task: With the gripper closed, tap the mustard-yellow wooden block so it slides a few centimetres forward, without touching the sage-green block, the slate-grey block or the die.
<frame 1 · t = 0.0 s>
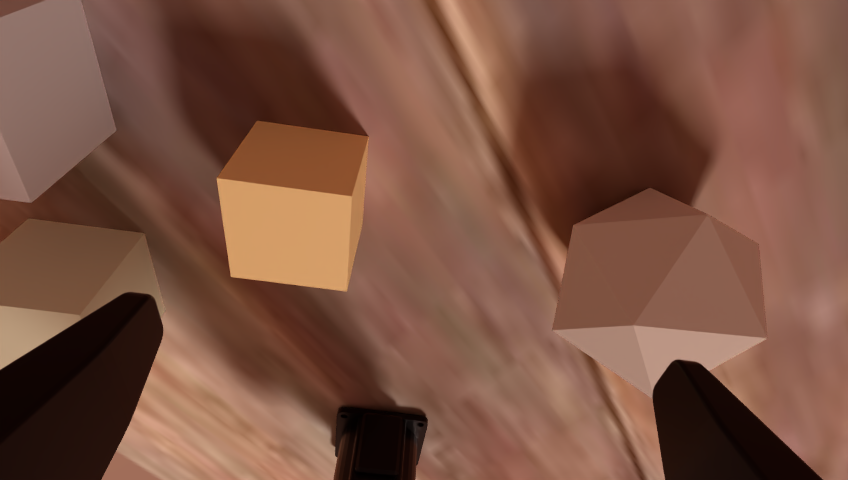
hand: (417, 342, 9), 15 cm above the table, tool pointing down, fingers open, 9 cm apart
sage block: (102, 266, 28), on the table
die: (627, 233, 25), on the table
mustard block: (313, 175, 24), on the table
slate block: (26, 54, 21), on the table
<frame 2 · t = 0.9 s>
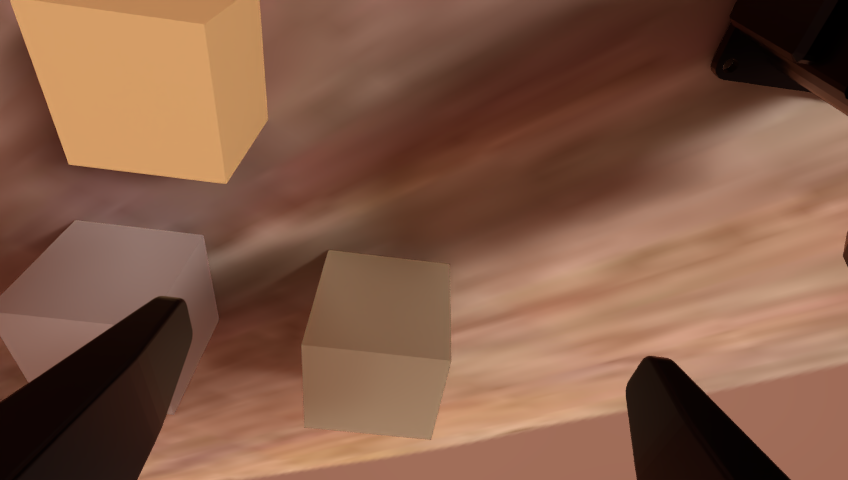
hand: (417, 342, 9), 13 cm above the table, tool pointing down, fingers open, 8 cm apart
sage block: (384, 298, 26), on the table
mustard block: (196, 47, 19), on the table
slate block: (153, 272, 26), on the table
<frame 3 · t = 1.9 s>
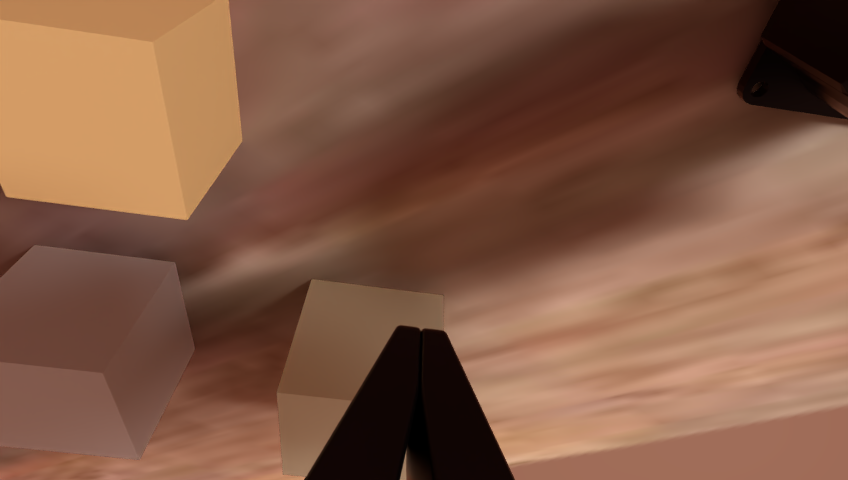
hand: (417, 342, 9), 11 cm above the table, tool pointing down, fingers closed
sage block: (373, 330, 24), on the table
mustard block: (160, 61, 17), on the table
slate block: (122, 300, 24), on the table
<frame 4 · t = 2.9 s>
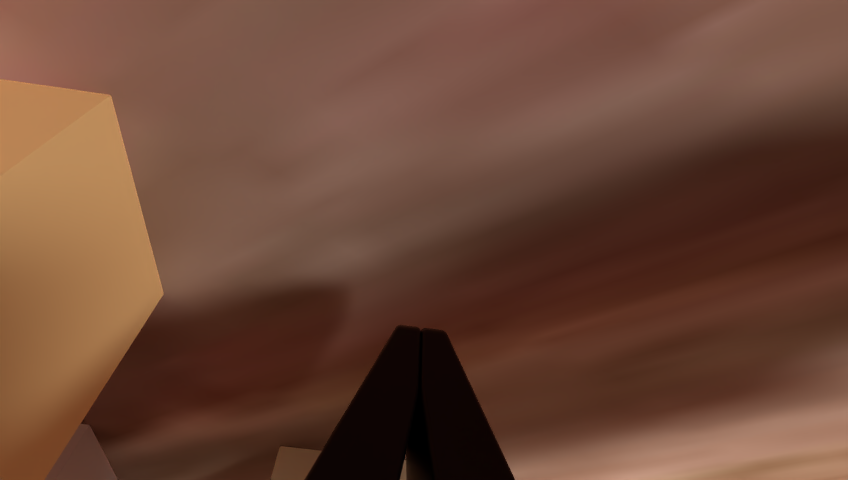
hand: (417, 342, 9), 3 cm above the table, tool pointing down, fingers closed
mustard block: (20, 190, 10), on the table
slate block: (27, 459, 18), on the table
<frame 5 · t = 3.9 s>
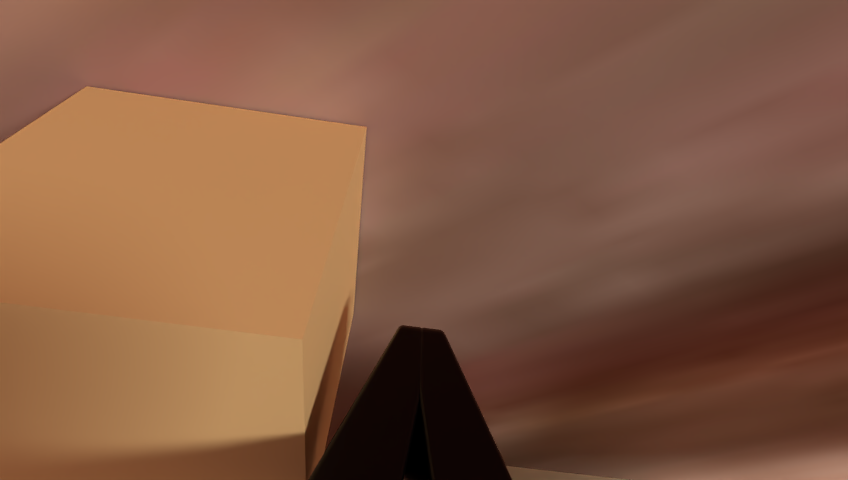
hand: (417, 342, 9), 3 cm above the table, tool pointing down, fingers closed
mustard block: (241, 217, 11), on the table, touching gripper
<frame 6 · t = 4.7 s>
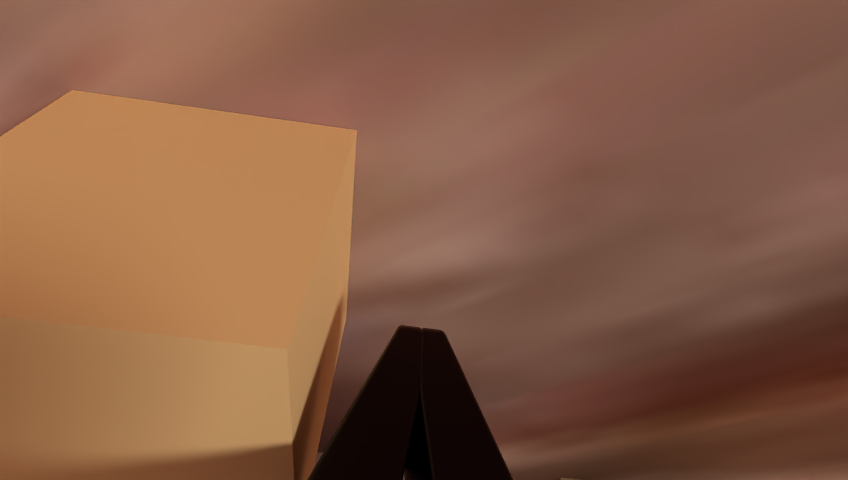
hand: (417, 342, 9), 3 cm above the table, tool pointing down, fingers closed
mustard block: (231, 222, 10), on the table, touching gripper
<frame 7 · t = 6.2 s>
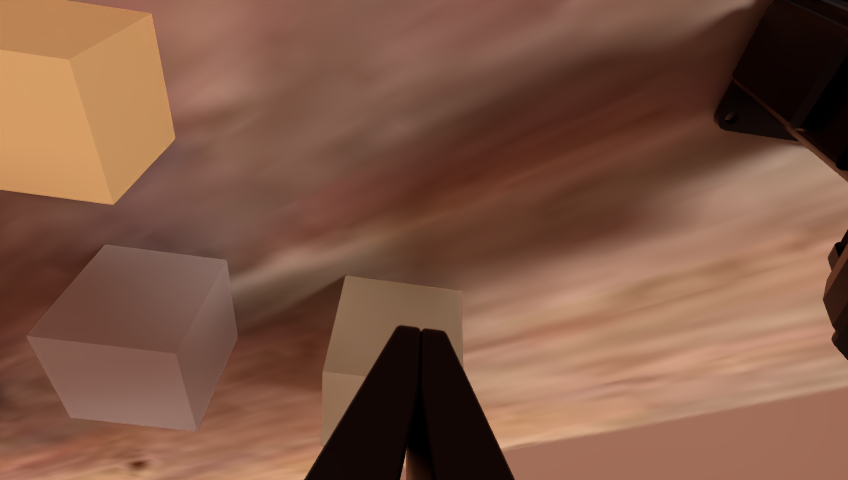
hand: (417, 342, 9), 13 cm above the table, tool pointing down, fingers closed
sage block: (397, 321, 28), on the table
mustard block: (99, 70, 19), on the table
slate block: (177, 293, 27), on the table
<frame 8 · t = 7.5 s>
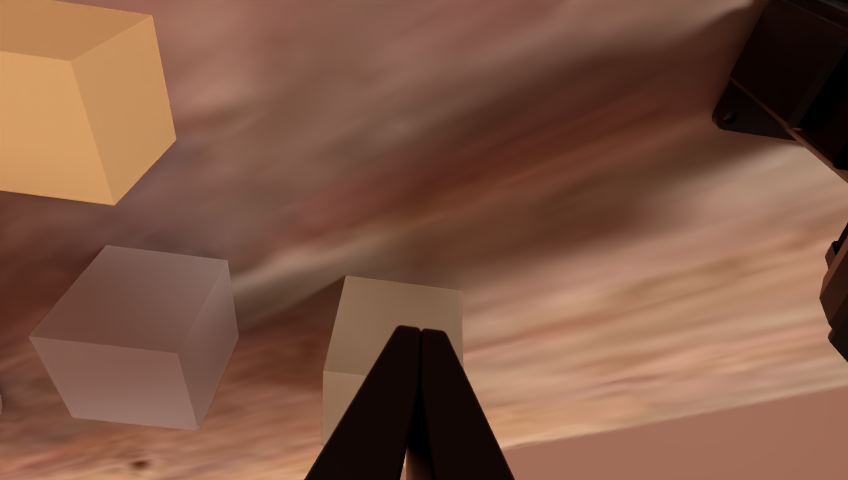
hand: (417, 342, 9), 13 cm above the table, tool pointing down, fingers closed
sage block: (397, 320, 28), on the table
mustard block: (101, 72, 19), on the table
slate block: (178, 293, 27), on the table
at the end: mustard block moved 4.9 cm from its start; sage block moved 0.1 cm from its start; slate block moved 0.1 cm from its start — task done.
